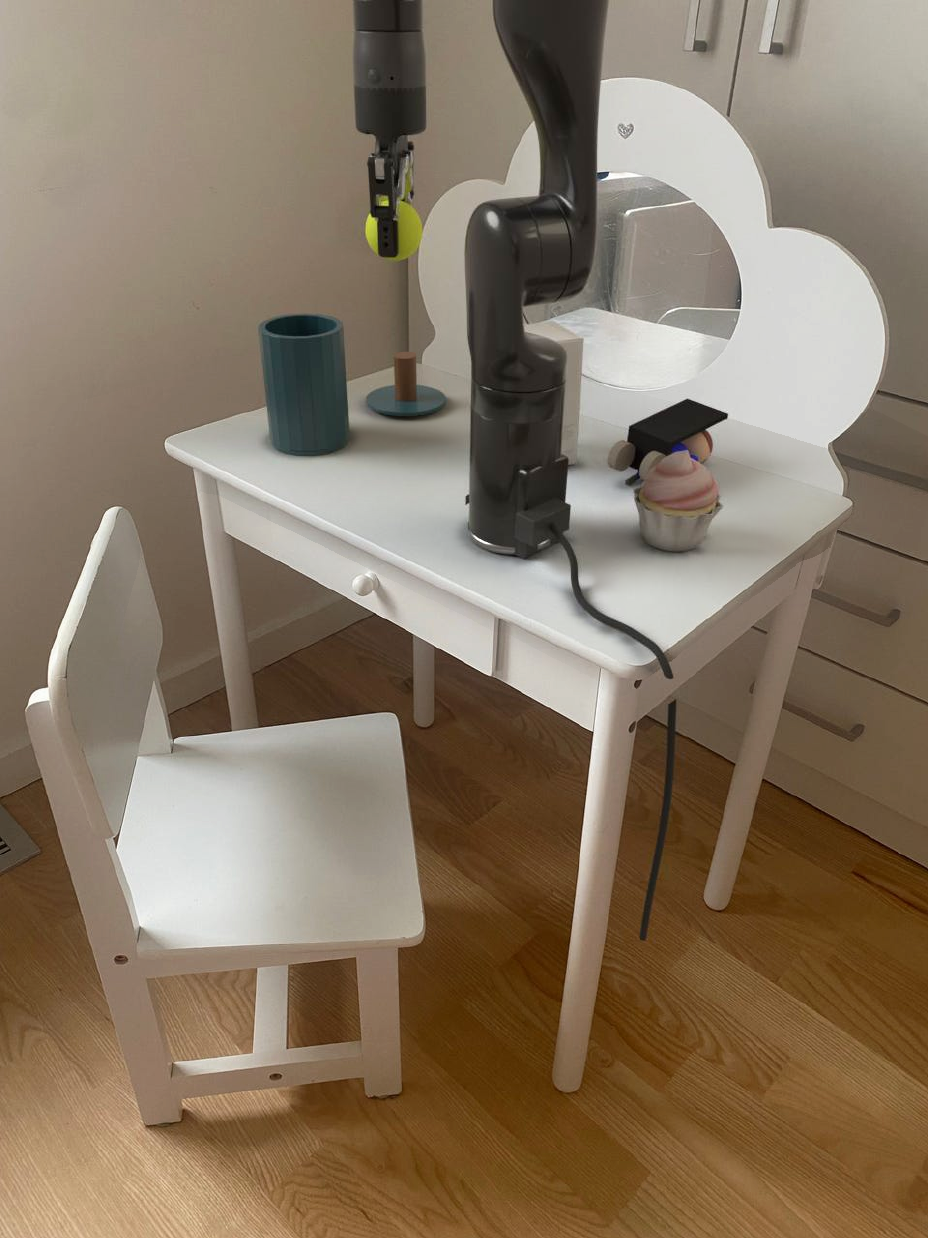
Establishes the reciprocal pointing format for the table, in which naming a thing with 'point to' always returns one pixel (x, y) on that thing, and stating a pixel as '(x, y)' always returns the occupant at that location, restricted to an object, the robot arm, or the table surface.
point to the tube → (305, 383)
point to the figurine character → (666, 438)
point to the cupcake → (677, 503)
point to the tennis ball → (399, 231)
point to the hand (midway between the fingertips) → (394, 248)
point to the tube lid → (405, 392)
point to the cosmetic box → (573, 382)
